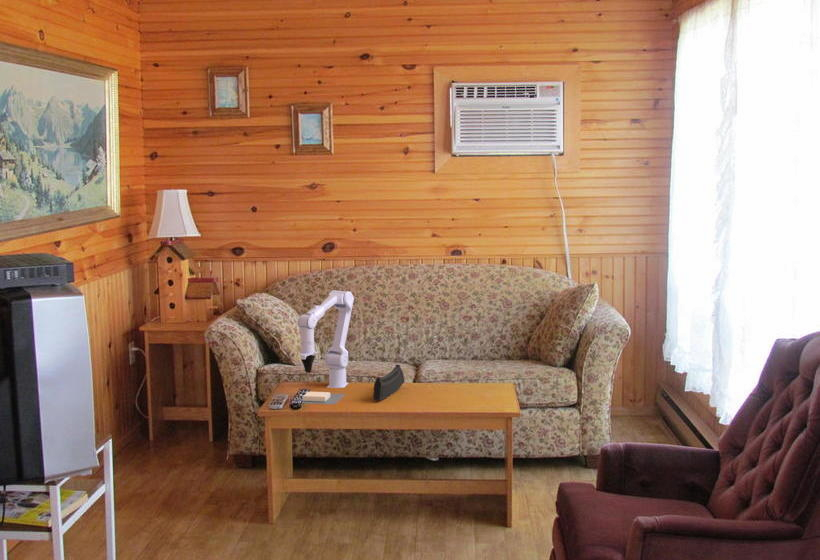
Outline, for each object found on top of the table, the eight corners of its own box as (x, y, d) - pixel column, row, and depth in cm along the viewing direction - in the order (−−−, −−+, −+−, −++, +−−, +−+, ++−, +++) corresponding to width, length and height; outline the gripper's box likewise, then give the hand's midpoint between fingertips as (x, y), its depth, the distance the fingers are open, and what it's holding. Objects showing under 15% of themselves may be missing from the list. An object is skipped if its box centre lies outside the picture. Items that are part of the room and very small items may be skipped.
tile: (308, 391, 401) (302, 396, 393) (330, 392, 399) (325, 396, 391) (308, 396, 401) (302, 401, 394) (330, 397, 400) (325, 402, 392)
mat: (302, 393, 410) (302, 392, 409) (345, 394, 406) (345, 394, 406) (289, 403, 392) (289, 402, 392) (334, 405, 388) (334, 404, 388)
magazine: (377, 384, 388) (400, 350, 413) (370, 383, 389) (393, 350, 414) (382, 418, 394) (405, 383, 420) (375, 418, 395) (398, 383, 421)
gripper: (311, 345, 395) (312, 376, 397) (320, 339, 409) (321, 368, 411) (295, 344, 396) (296, 375, 398) (305, 338, 411) (306, 368, 412)
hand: (308, 372), depth 405 cm, fingers closed
